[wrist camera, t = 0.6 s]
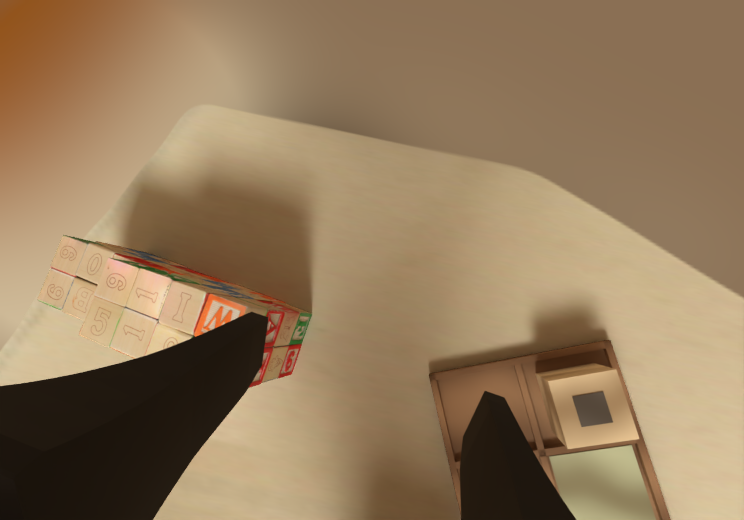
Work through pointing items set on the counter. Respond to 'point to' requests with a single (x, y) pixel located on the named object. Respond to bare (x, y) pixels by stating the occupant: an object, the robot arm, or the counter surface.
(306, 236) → the counter surface
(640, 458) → the tray
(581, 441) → the light wooden block
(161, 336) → the stack of blocks
